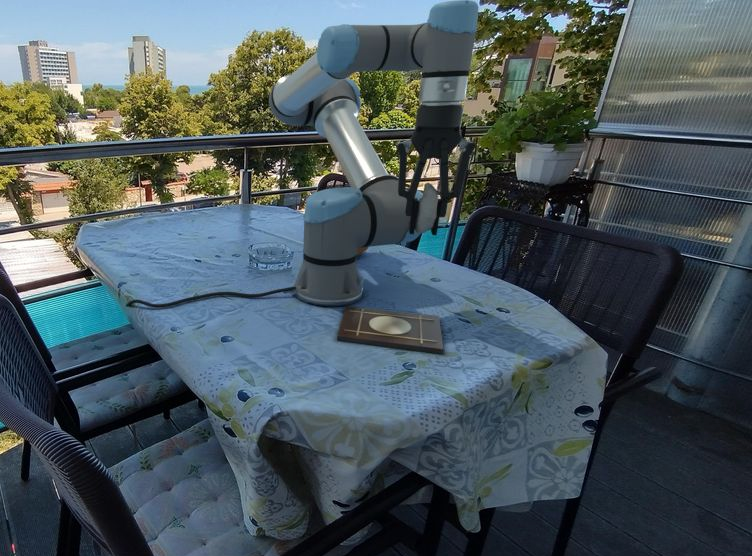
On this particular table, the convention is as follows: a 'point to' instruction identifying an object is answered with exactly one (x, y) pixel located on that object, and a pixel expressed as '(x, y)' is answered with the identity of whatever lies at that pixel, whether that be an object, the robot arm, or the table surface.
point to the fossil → (426, 209)
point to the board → (391, 329)
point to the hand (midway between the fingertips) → (422, 232)
